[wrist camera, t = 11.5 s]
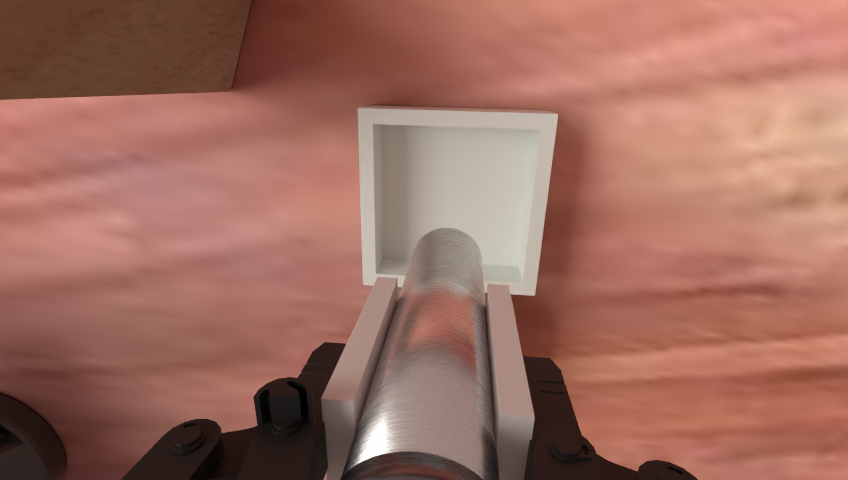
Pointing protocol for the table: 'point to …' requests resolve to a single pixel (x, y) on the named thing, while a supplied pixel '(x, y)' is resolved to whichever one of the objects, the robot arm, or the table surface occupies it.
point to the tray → (455, 186)
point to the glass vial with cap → (432, 375)
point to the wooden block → (118, 47)
